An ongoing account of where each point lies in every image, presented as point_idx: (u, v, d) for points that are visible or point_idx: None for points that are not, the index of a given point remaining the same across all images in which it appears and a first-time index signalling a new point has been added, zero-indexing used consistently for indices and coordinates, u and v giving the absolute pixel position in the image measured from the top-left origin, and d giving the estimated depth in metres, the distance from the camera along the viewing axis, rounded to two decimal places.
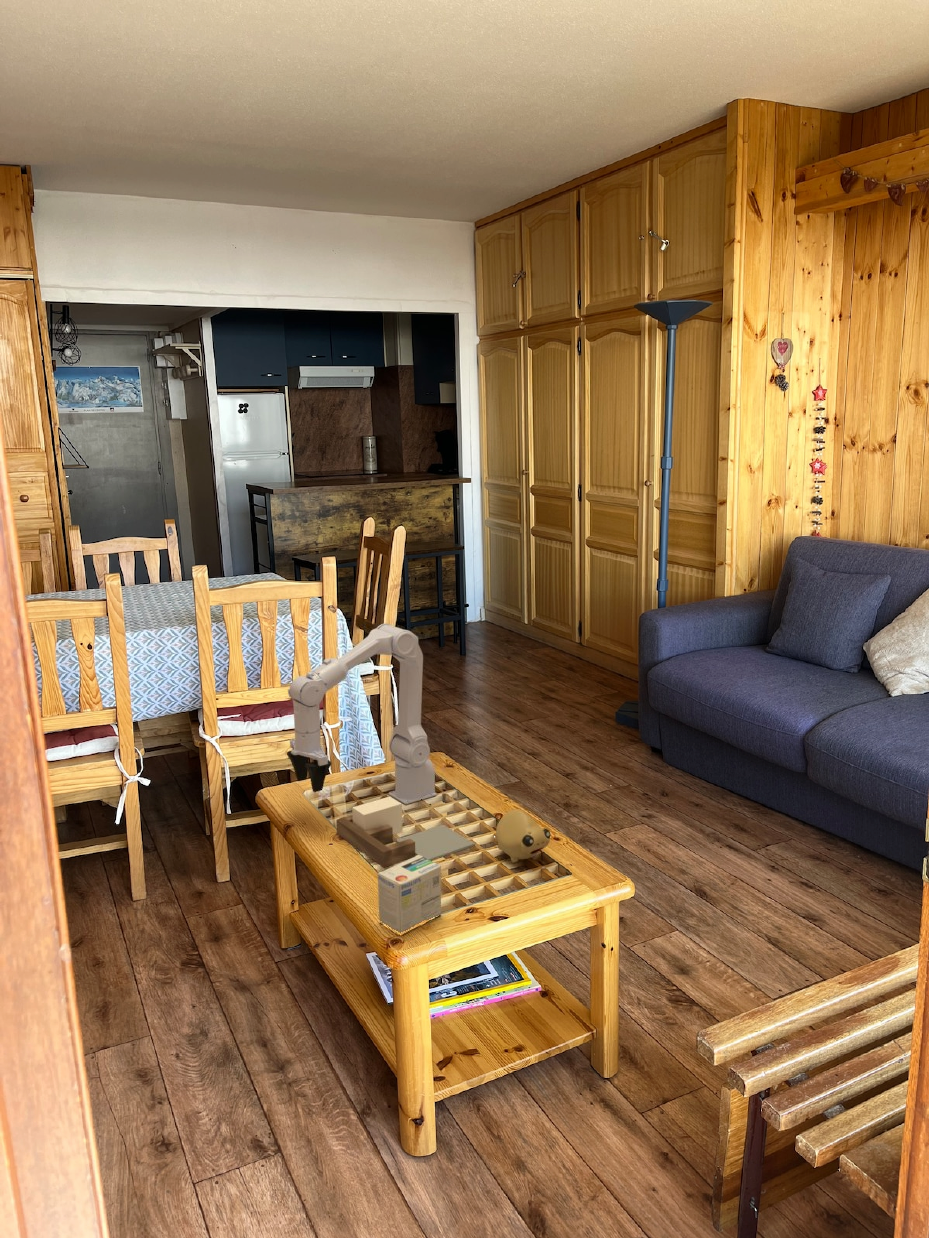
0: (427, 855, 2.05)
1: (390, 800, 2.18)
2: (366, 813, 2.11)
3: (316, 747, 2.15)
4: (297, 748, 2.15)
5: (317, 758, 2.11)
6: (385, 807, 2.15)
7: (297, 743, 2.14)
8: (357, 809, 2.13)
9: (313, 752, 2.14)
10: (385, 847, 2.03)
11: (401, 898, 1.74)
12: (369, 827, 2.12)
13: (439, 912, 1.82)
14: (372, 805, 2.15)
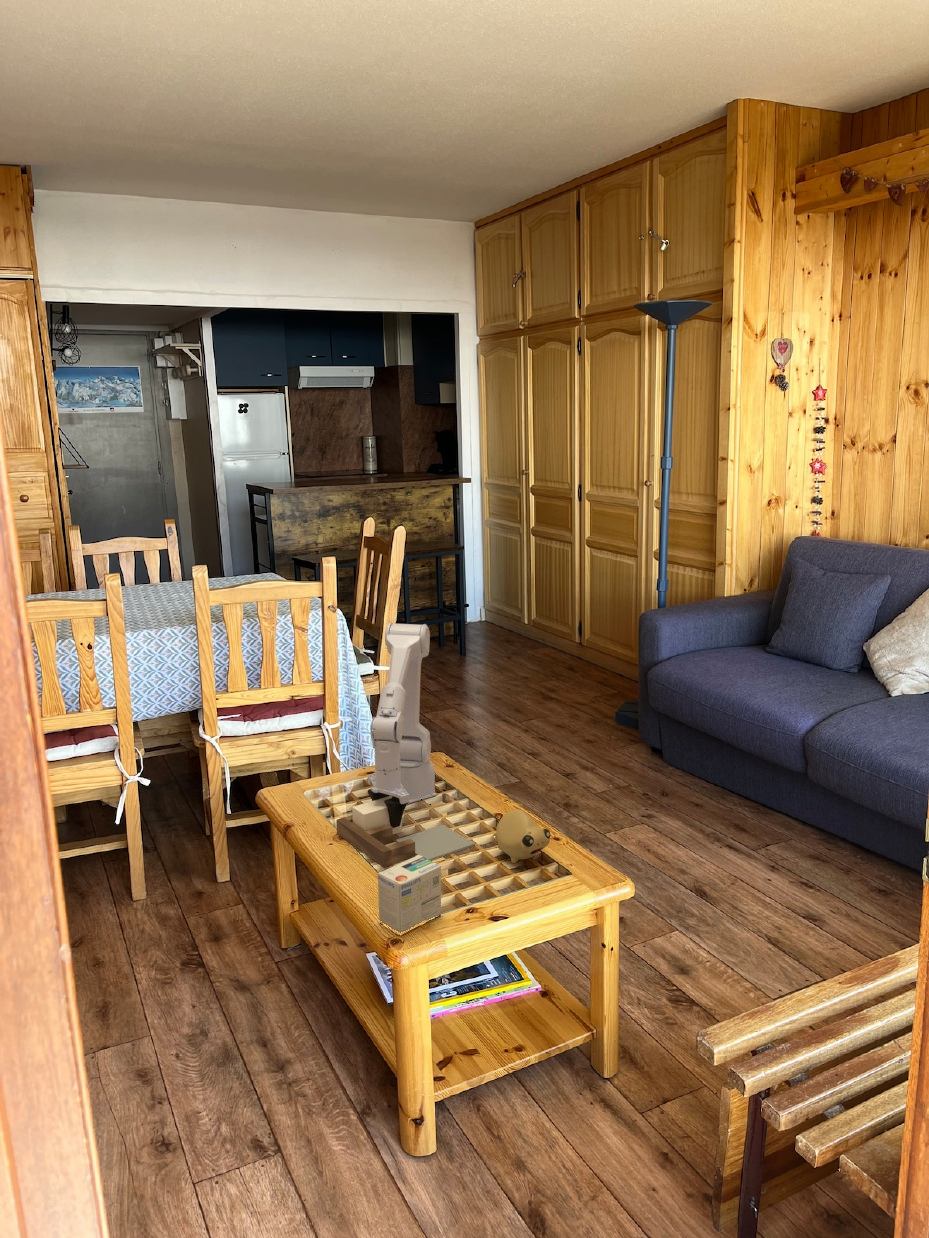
0: (427, 855, 2.05)
1: None
2: (366, 813, 2.11)
3: (397, 785, 2.14)
4: (378, 786, 2.14)
5: (399, 796, 2.11)
6: (385, 806, 2.15)
7: (378, 781, 2.14)
8: (357, 809, 2.13)
9: (394, 790, 2.14)
10: (385, 847, 2.03)
11: (400, 898, 1.74)
12: (369, 827, 2.12)
13: (439, 912, 1.82)
14: (372, 805, 2.15)
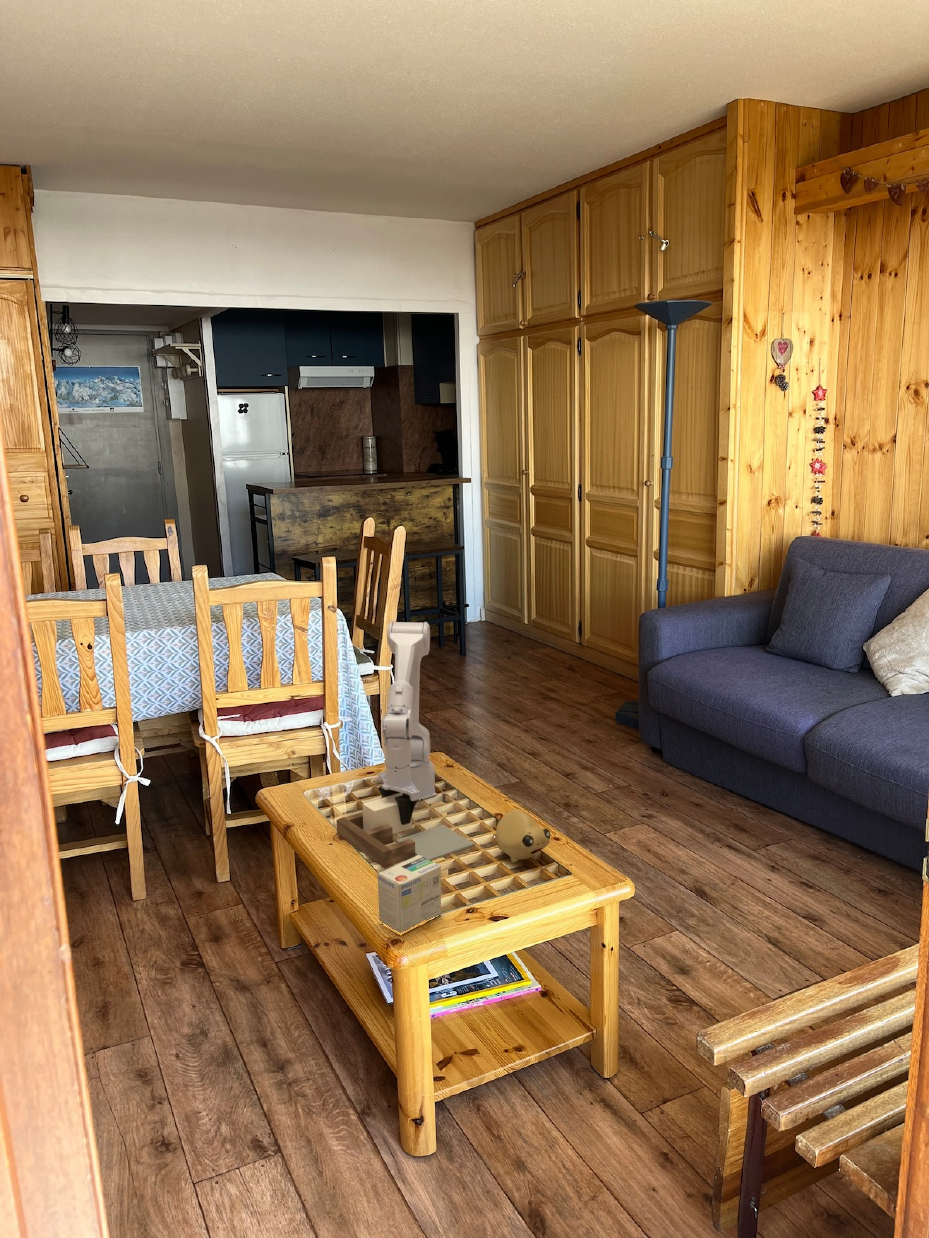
0: (427, 855, 2.05)
1: None
2: (376, 809, 2.13)
3: (407, 782, 2.16)
4: (388, 783, 2.16)
5: (410, 793, 2.12)
6: (395, 803, 2.16)
7: (388, 778, 2.16)
8: (367, 805, 2.15)
9: (404, 787, 2.15)
10: (385, 847, 2.03)
11: (400, 898, 1.74)
12: (379, 823, 2.14)
13: (439, 912, 1.82)
14: (382, 801, 2.17)
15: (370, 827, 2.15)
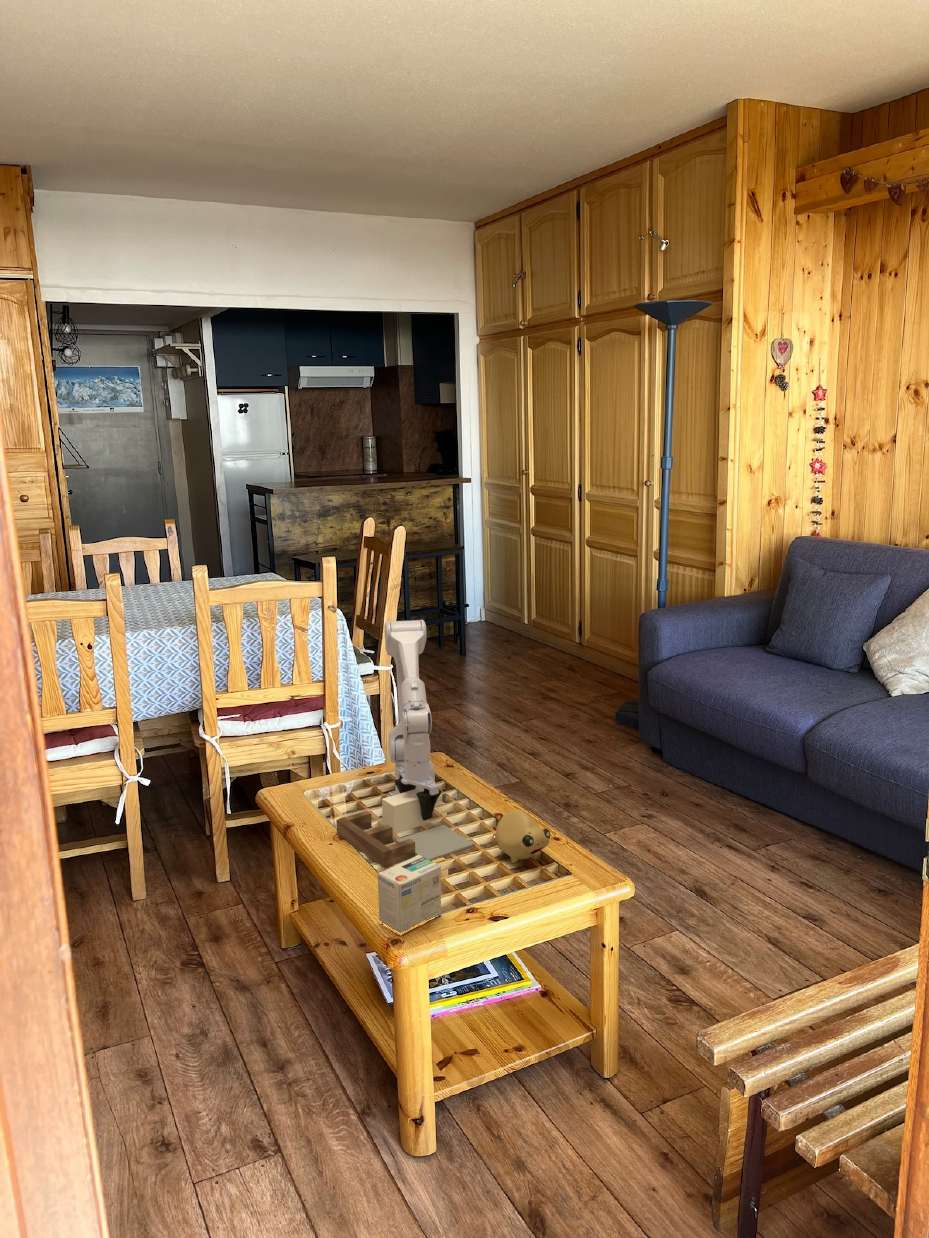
0: (427, 855, 2.05)
1: None
2: (396, 804, 2.16)
3: (426, 776, 2.19)
4: (407, 777, 2.19)
5: (429, 788, 2.15)
6: (414, 798, 2.19)
7: (407, 772, 2.19)
8: (387, 800, 2.18)
9: (423, 781, 2.18)
10: (385, 847, 2.03)
11: (400, 898, 1.74)
12: (399, 818, 2.17)
13: (439, 912, 1.82)
14: (401, 796, 2.20)
15: (389, 822, 2.18)
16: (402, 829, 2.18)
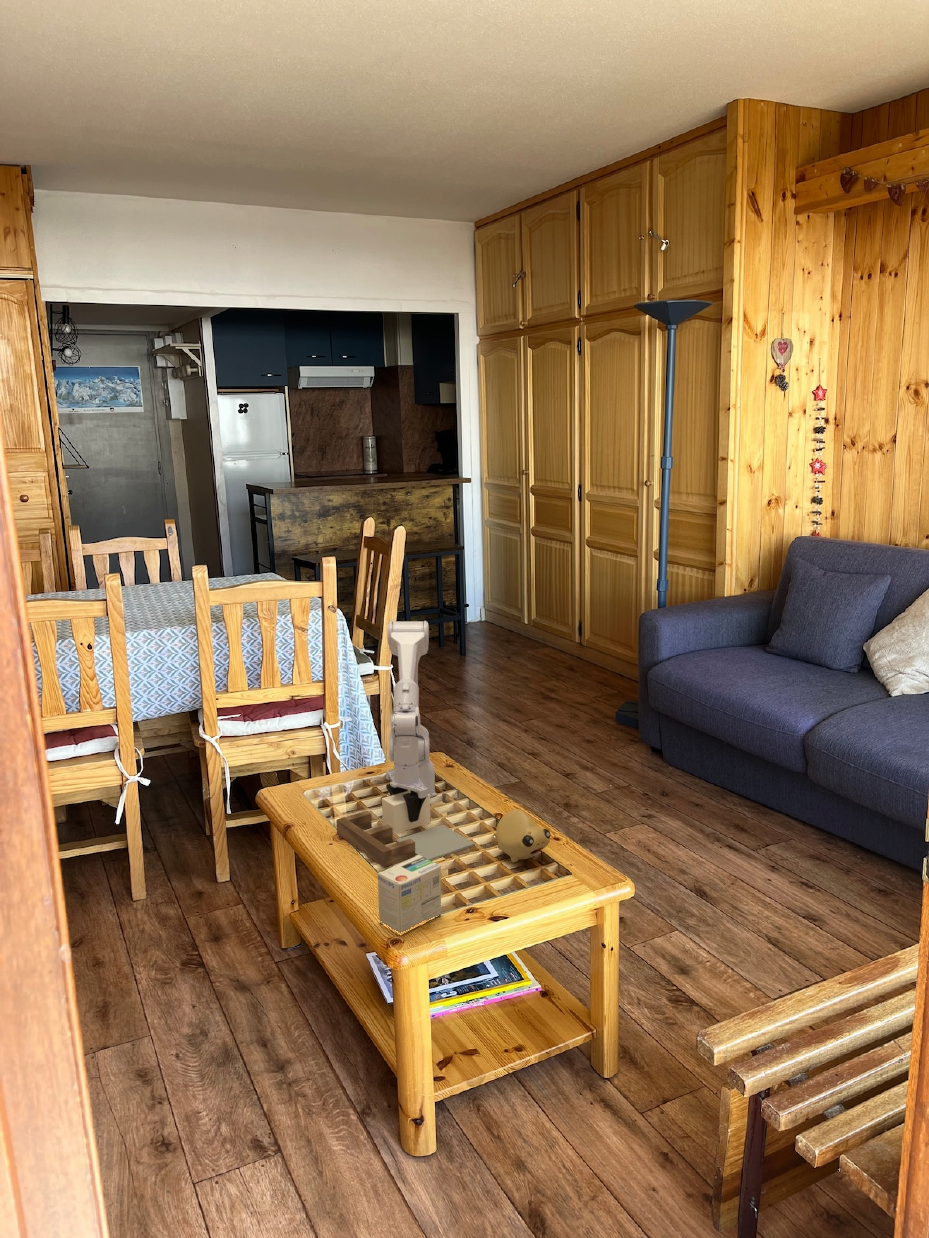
0: (427, 855, 2.05)
1: None
2: (396, 804, 2.16)
3: (415, 780, 2.17)
4: (396, 780, 2.17)
5: (418, 791, 2.14)
6: None
7: (396, 775, 2.17)
8: (387, 800, 2.18)
9: (412, 784, 2.17)
10: (385, 847, 2.03)
11: (400, 898, 1.74)
12: (399, 818, 2.17)
13: (439, 912, 1.82)
14: (401, 796, 2.20)
15: (389, 821, 2.18)
16: (402, 829, 2.18)
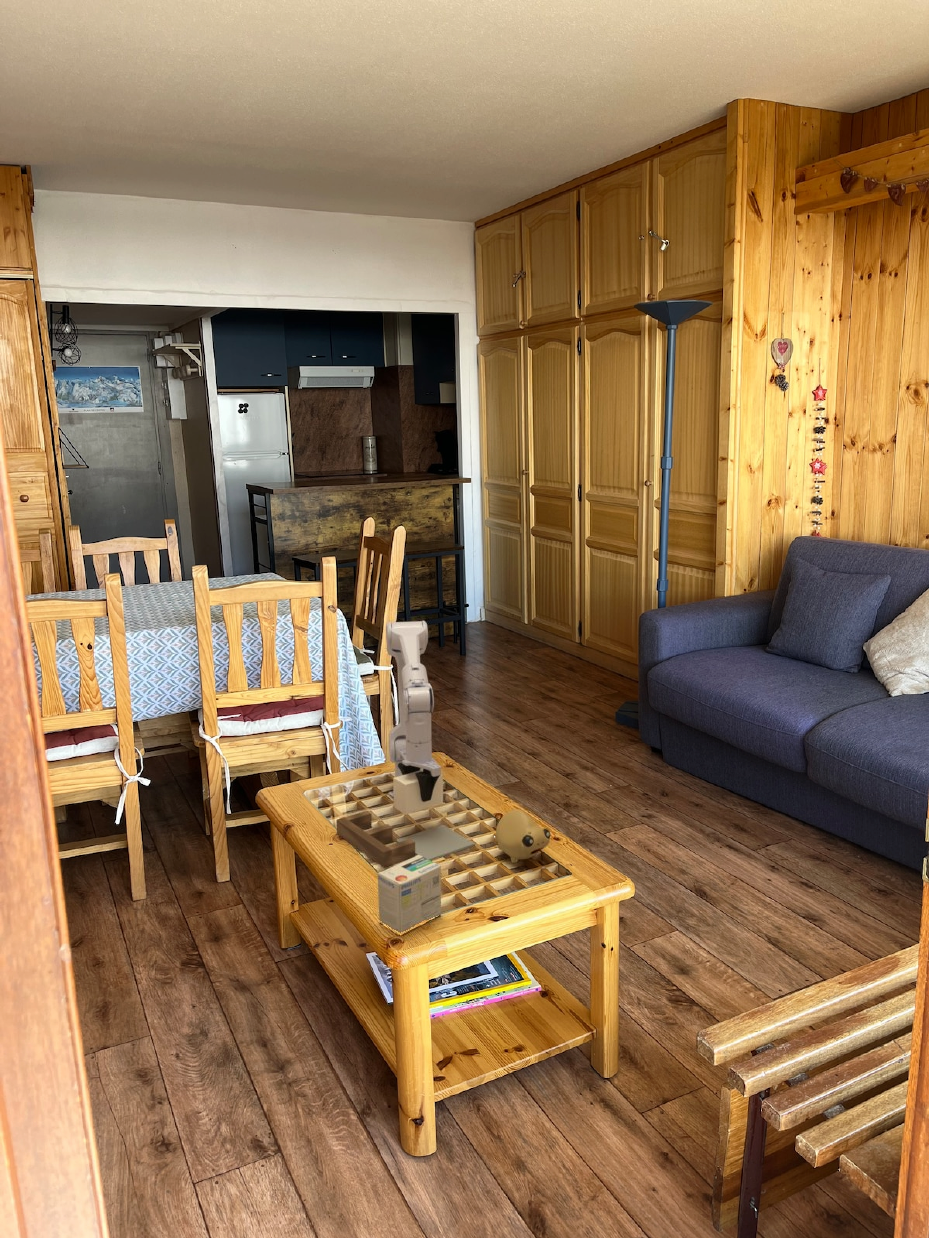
0: (427, 855, 2.05)
1: None
2: (408, 783, 2.10)
3: (428, 758, 2.11)
4: (409, 758, 2.11)
5: (431, 769, 2.07)
6: None
7: (409, 753, 2.11)
8: (398, 779, 2.12)
9: (425, 763, 2.10)
10: (385, 847, 2.03)
11: (400, 898, 1.74)
12: (411, 797, 2.10)
13: (439, 912, 1.82)
14: (413, 776, 2.14)
15: (401, 801, 2.11)
16: (414, 809, 2.12)
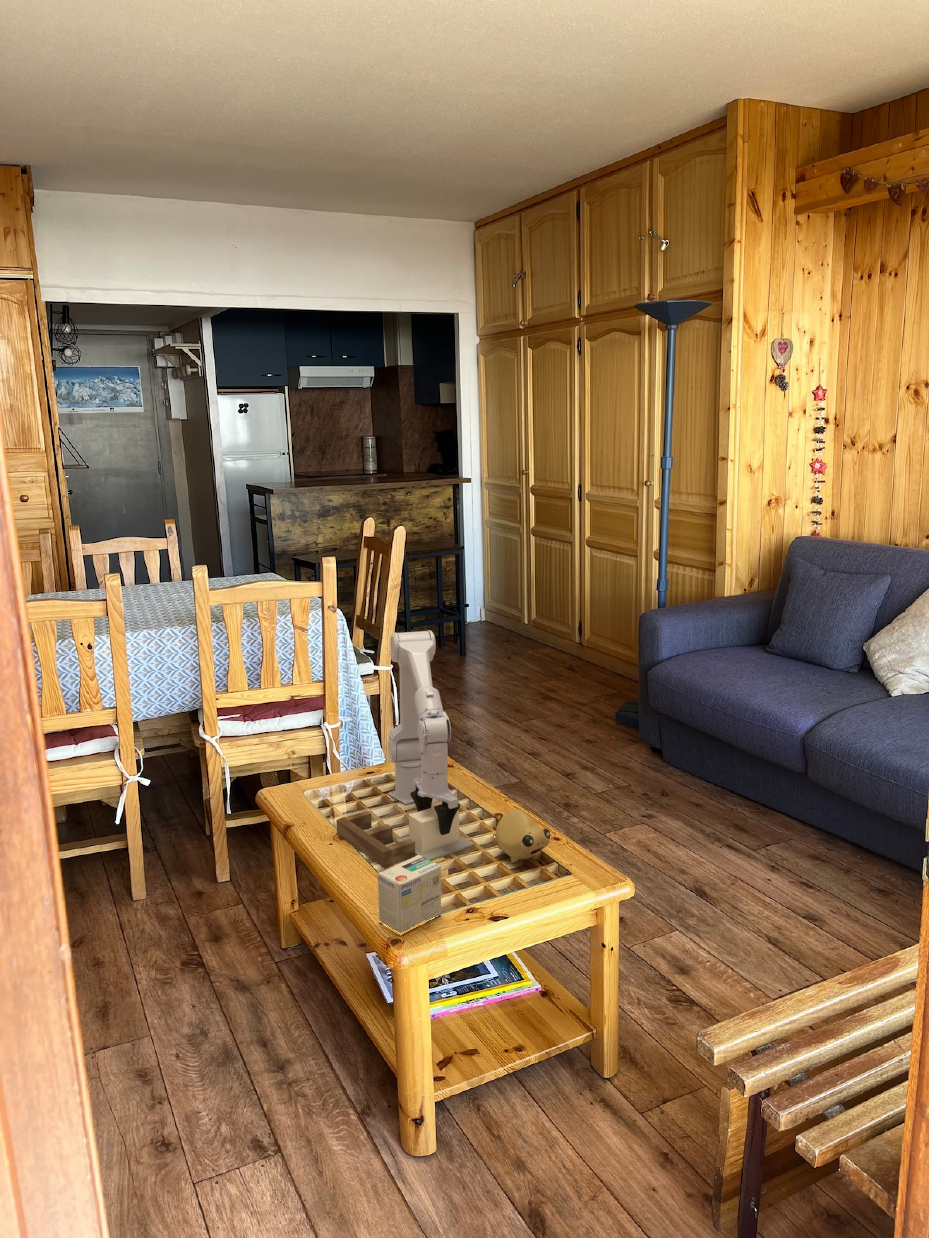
0: (427, 855, 2.05)
1: None
2: (424, 821, 2.06)
3: (444, 789, 2.07)
4: (424, 790, 2.07)
5: (447, 801, 2.04)
6: None
7: (425, 784, 2.07)
8: (414, 816, 2.08)
9: (441, 794, 2.07)
10: (385, 847, 2.03)
11: (400, 898, 1.74)
12: (427, 835, 2.07)
13: (439, 912, 1.82)
14: (429, 812, 2.10)
15: (417, 839, 2.08)
16: (430, 846, 2.08)
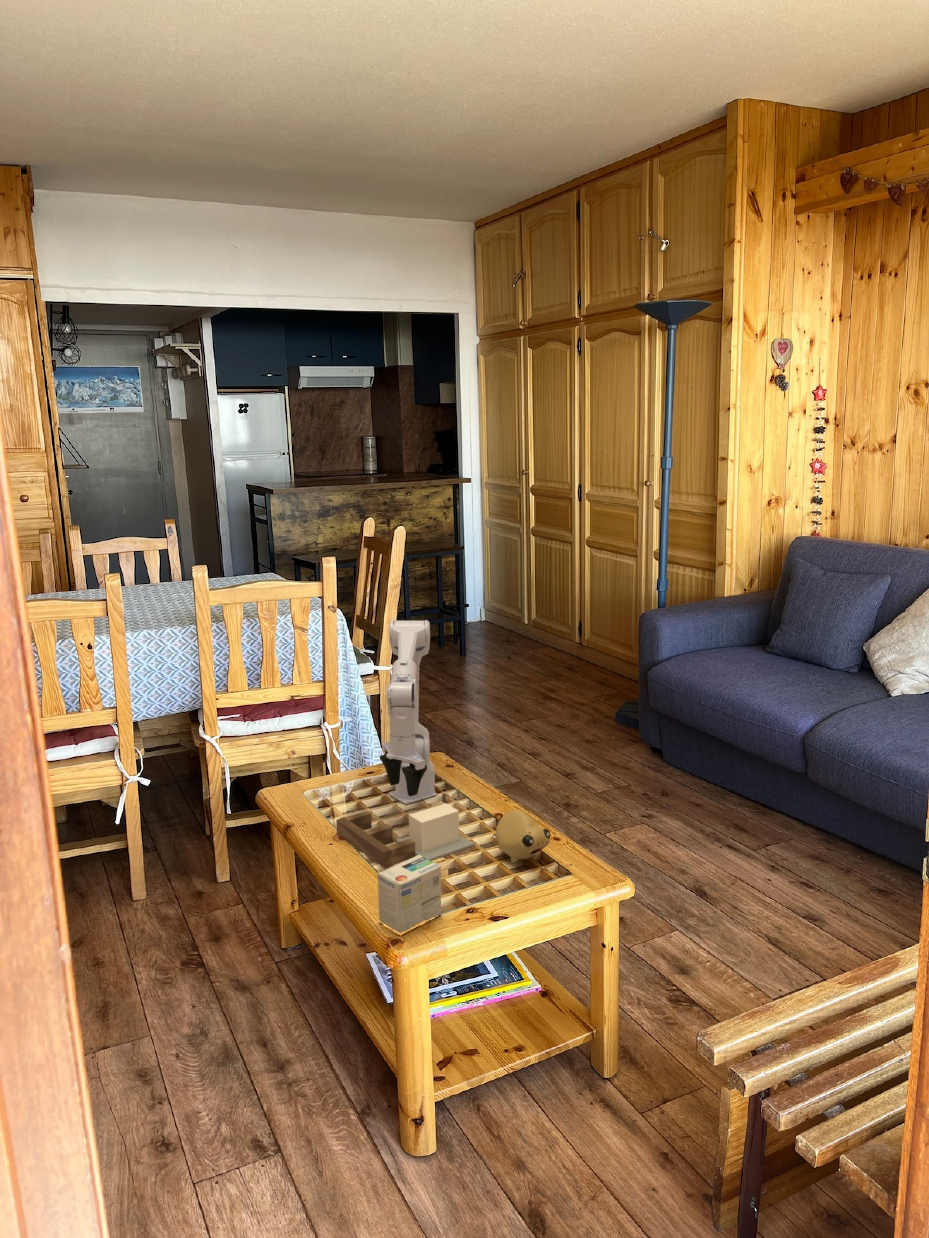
0: (427, 855, 2.05)
1: (446, 807, 2.13)
2: (424, 821, 2.06)
3: (412, 751, 2.14)
4: (393, 752, 2.14)
5: (414, 762, 2.10)
6: (442, 814, 2.09)
7: (393, 747, 2.13)
8: (414, 816, 2.08)
9: (409, 756, 2.13)
10: (385, 847, 2.03)
11: (400, 898, 1.74)
12: (427, 835, 2.07)
13: (439, 912, 1.82)
14: (429, 812, 2.10)
15: (417, 839, 2.08)
16: (430, 846, 2.08)
